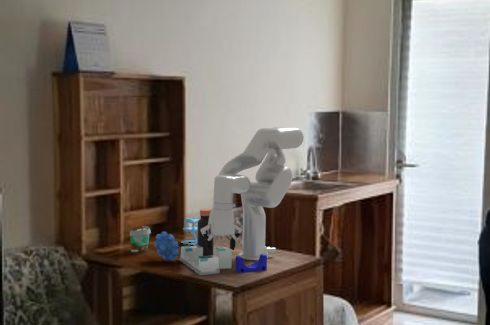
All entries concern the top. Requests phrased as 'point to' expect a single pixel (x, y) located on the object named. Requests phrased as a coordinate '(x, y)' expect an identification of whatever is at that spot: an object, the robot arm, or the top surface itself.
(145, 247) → the food container
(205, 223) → the bottle
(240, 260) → the blue mounting bracket
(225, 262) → the block
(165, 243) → the grapes
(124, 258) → the top surface
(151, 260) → the top surface
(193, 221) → the chair
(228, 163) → the robot arm
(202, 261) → the rail
